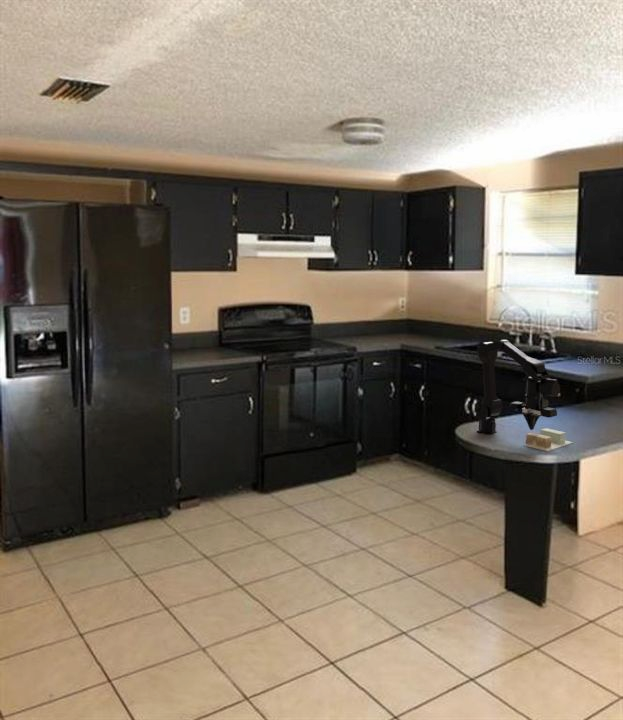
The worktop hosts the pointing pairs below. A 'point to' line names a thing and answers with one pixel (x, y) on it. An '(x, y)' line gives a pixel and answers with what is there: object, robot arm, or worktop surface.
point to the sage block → (554, 435)
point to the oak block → (538, 440)
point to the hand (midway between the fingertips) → (531, 429)
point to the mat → (553, 446)
